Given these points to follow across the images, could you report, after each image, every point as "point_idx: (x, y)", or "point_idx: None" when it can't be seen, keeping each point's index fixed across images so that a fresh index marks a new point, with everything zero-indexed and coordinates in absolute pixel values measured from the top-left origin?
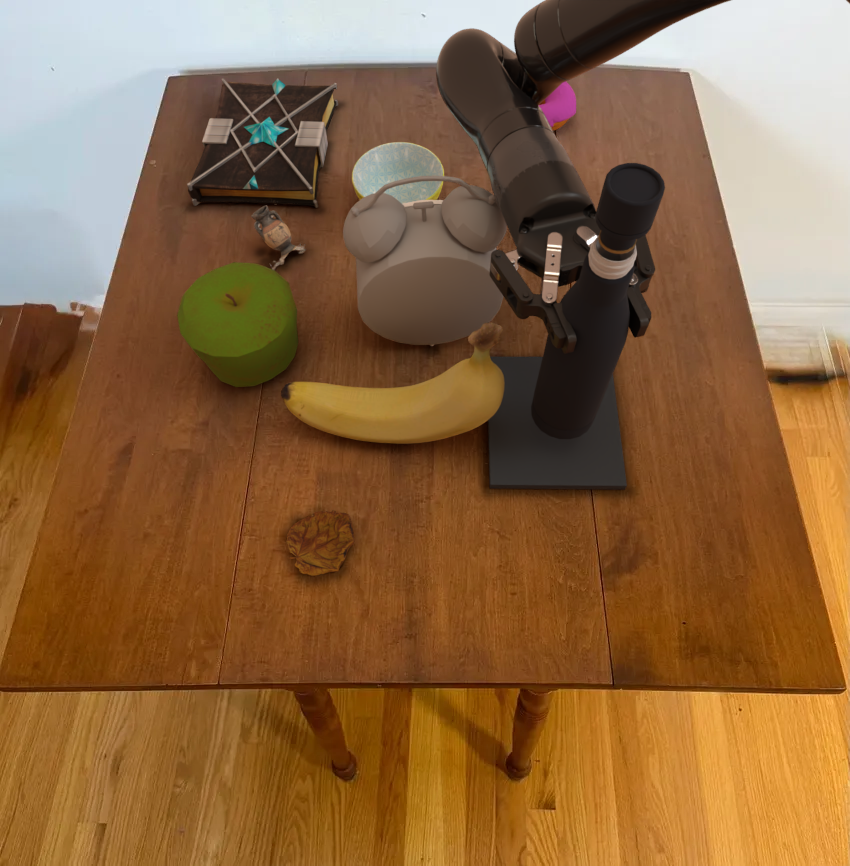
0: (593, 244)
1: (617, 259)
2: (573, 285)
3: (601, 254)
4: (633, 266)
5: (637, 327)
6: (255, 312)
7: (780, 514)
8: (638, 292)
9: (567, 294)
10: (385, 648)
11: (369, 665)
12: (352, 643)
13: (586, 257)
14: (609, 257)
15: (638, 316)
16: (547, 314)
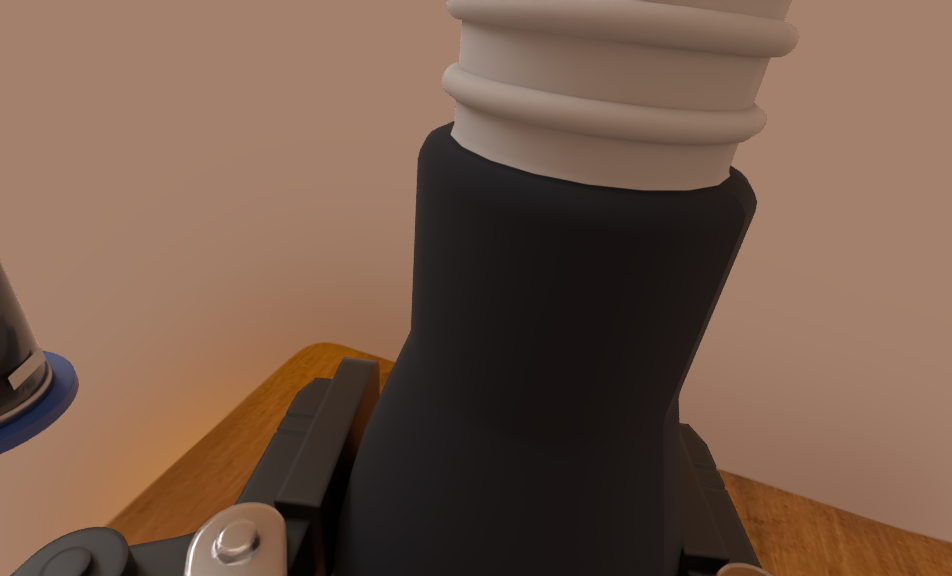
0: (783, 16)
1: (445, 277)
2: (664, 487)
3: (555, 306)
4: (452, 122)
5: (376, 392)
6: None
7: (183, 475)
8: (255, 491)
9: (674, 519)
10: (788, 518)
11: (805, 507)
12: (839, 540)
13: (743, 198)
14: (486, 309)
15: (370, 373)
16: (746, 543)
